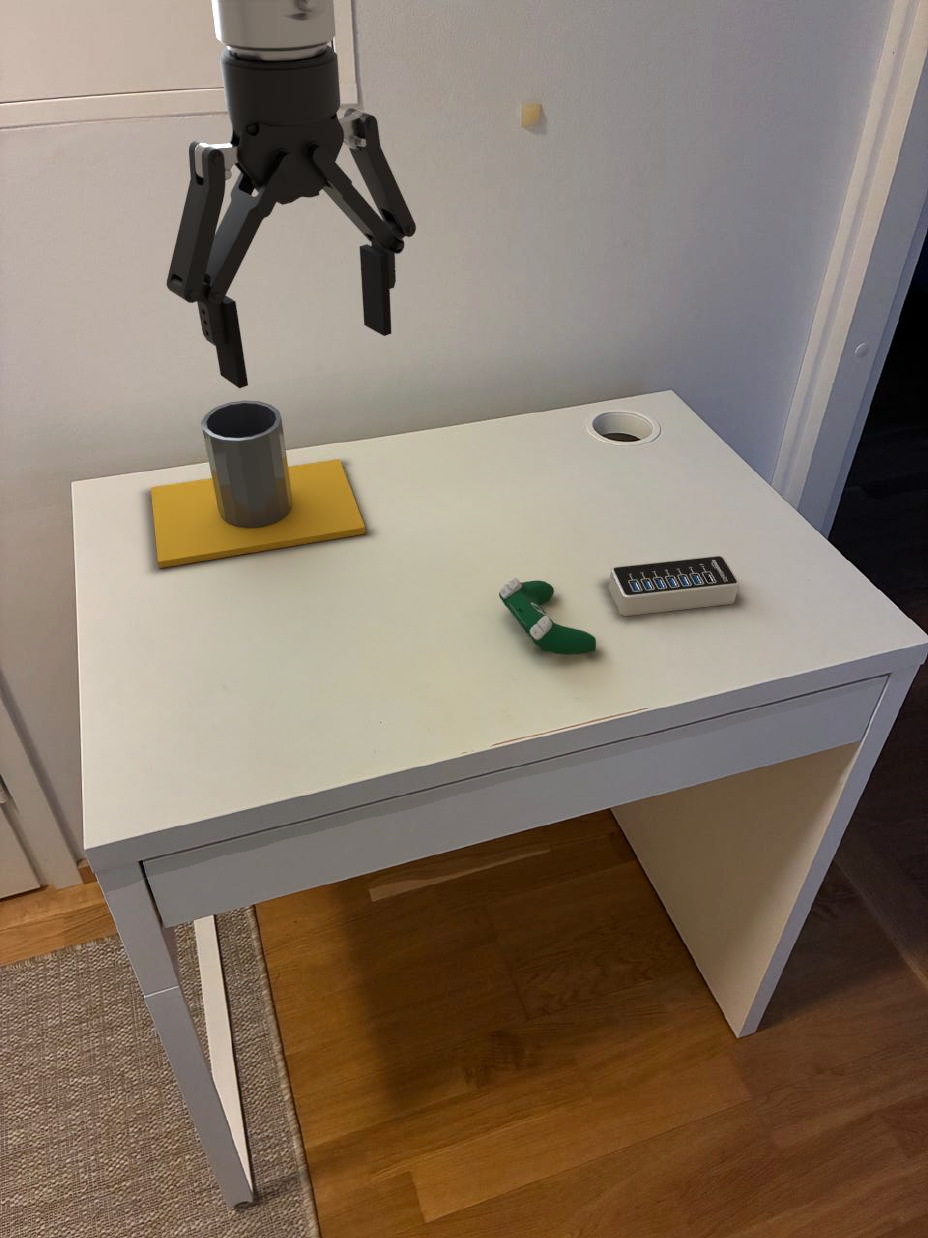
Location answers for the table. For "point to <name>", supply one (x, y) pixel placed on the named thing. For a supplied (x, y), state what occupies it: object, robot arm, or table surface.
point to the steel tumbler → (248, 463)
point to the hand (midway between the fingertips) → (309, 354)
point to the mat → (201, 533)
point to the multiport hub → (673, 585)
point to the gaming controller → (543, 618)
